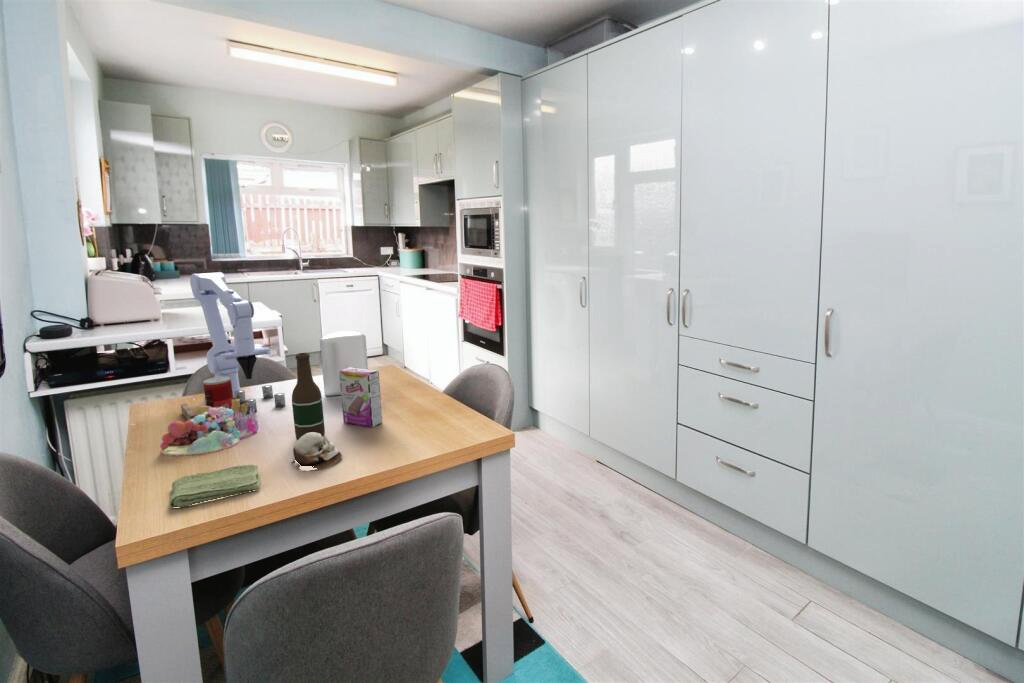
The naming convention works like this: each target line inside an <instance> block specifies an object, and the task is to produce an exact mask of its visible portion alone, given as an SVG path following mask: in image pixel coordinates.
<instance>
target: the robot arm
mask: <svg viewBox="0 0 1024 683" xmlns="http://www.w3.org/2000/svg"><path fill="white" fill-rule="evenodd" d="M189 279H190V280H189V284H190V289H191V291H192V296H193V298H194V299H195V300H197V301H199V303H200V306H201V309H202V312H203V315H204V320H205V323H206V326H207V329H208V334H209V337H210V340H211V344H212V347H211V348H210V349H209V350H208V351H207V352H206V359H207V360H206V361H207V362H206V364H207V368H208V370H209V372H211V374H214V377H223V376H225V377H230V378H231V384H232V392H233V399H235V396H234V392H235V391H238V390H241V387H240V380H239V373H238V372H239V371H240V369H242V372H243V375H244V377H245V379H246V380H251V379H252V378H253V372H254V371H253V370H254V368H255V365H256V362H257V359H258V358H257V356H262V355H263V356H264V355H270V354H271V351H270V348H269V347H261V348H256V346H255V338H254V330H253V329H254V328H253V321H252V318H253V317H254V314H255V308H254V305H253V303H252V302H251V300H249V299H247V300H246V299H243V298H242V297H241V296H240V295H239V294H238V293H237V291H236V290H234V289H230V288H229V287H228V286H227V279H226V277H225V274H224V273H223V272H221V271H218V272H206V273H204V272H203V273H192V274H191V276H190V278H189ZM218 299H219V303H221V305H222V306H223V307H224V308H225V309H226V310H227V316H228V318H229V321H230V322H229V323H230V325H231V326H232V332H233V340H234V345H233V344H231V343H229V341H228V337H227V334H226V331H225V330H226V329H225V327H224V324H223V319H222V316H221V313H220V309H219V306H218V302H217V300H218Z"/></svg>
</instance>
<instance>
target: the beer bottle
mask: <svg viewBox="0 0 1024 683" xmlns="http://www.w3.org/2000/svg"><path fill="white" fill-rule="evenodd" d="M310 358H311V355H310V353H308V352H301V353H300V352H299V353H297V354H296V355H295V360H296V374H297V376H296V377H297V379H296V385H295V386H294V388H293V390H292V393H291V406H292V407H291V408H292V415H293V422H294V423H293V426H294V434H295V439H296V441H297V440H298V439H300V437H302V436H303V435H305V434H306V433H310V432H315V433H320V434H321V436H322V437H323V436H324V437H325V434H326V431H325V429H326V428H325V427H326V426H325V420H324V419H325V418H324V409H323V408H324V406H323V397H322V391H321V390H320V387H319V386H318V384H316V383H315V381H314V378H313V374H312V368H311V361H310Z"/></svg>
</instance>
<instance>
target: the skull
mask: <svg viewBox="0 0 1024 683" xmlns="http://www.w3.org/2000/svg"><path fill="white" fill-rule="evenodd" d="M292 454H293V458H294V459H293V460H292V461H294V460H296V461H297V462H298V463H299V464H300V465H301V466H312V467H313V466H314V467H313V468H317V469H318V470H323V469H326V468H328V467H330V466H332V465H334V464H336V463H337V462H339V460H341V458H342V452H341V451H339V450H338V449H337V448H336V447H335V444H334V443H333V442H331V441H330V440H329V439H328V438H327V437H326V436H325V435H324V436H323V437H322V436H321V434H320V433H315V432H310V433H306V434H305V435H303V436H302V437H300V439H298V440H297V439H296V442H294V444H293V448H292ZM294 462H295V461H294ZM299 464H298V465H299ZM300 465H299V466H300Z"/></svg>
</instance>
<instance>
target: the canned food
mask: <svg viewBox="0 0 1024 683" xmlns="http://www.w3.org/2000/svg"><path fill="white" fill-rule="evenodd" d="M202 382H203V383H202V384H203V392H204V397H205V399H206V406H210V407H214V406H216V405H225V408H229V409H231V407H232V400H233V399H234V398H233V392H232V384H231V378H230V377H225V376H223V377H215V376H214V377H210V378H207V379H205V380H203V381H202ZM205 399H204V400H205Z"/></svg>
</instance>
